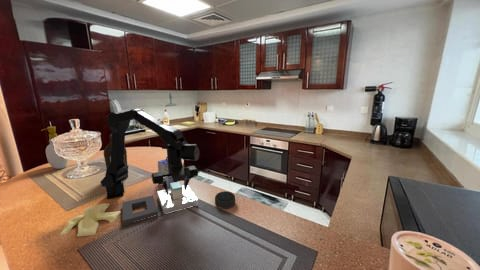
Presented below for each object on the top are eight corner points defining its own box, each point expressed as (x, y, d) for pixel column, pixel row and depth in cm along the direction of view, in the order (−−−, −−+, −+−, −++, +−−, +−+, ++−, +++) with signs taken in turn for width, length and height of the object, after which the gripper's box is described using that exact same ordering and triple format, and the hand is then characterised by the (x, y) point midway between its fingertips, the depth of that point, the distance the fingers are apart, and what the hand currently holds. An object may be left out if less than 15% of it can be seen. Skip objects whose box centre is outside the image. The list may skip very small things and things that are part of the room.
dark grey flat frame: (123, 225, 72) (122, 220, 72) (122, 206, 84) (122, 202, 83) (158, 215, 78) (157, 211, 78) (153, 199, 90) (153, 195, 89)
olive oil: (105, 177, 111) (99, 134, 105) (126, 172, 118) (121, 131, 113) (109, 184, 103) (103, 138, 98) (131, 178, 111) (126, 135, 105)
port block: (163, 215, 78) (163, 207, 77) (157, 197, 92) (157, 190, 91) (198, 205, 85) (197, 198, 84) (187, 190, 99) (187, 183, 98)
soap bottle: (43, 168, 123) (34, 127, 118) (60, 163, 131) (52, 124, 126) (56, 171, 118) (47, 129, 112) (73, 166, 126) (66, 126, 120)
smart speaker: (222, 196, 93) (222, 188, 92) (238, 202, 89) (238, 194, 88) (210, 205, 86) (210, 197, 85) (227, 212, 81) (227, 203, 80)
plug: (173, 206, 85) (172, 189, 83) (171, 199, 90) (170, 183, 88) (183, 203, 87) (182, 186, 85) (180, 197, 92) (179, 181, 90)
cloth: (101, 202, 88) (99, 189, 86) (132, 211, 81) (131, 198, 80) (36, 235, 67) (32, 220, 66) (71, 251, 61) (67, 234, 60)
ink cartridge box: (178, 184, 104) (176, 158, 101) (169, 188, 100) (167, 161, 97) (167, 179, 110) (165, 154, 107) (158, 182, 106) (156, 157, 103)
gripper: (153, 169, 73) (156, 207, 76) (202, 160, 82) (202, 195, 85) (149, 160, 82) (152, 194, 85) (193, 153, 91) (194, 184, 95)
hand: (176, 192), depth 87 cm, fingers open, 7 cm apart
